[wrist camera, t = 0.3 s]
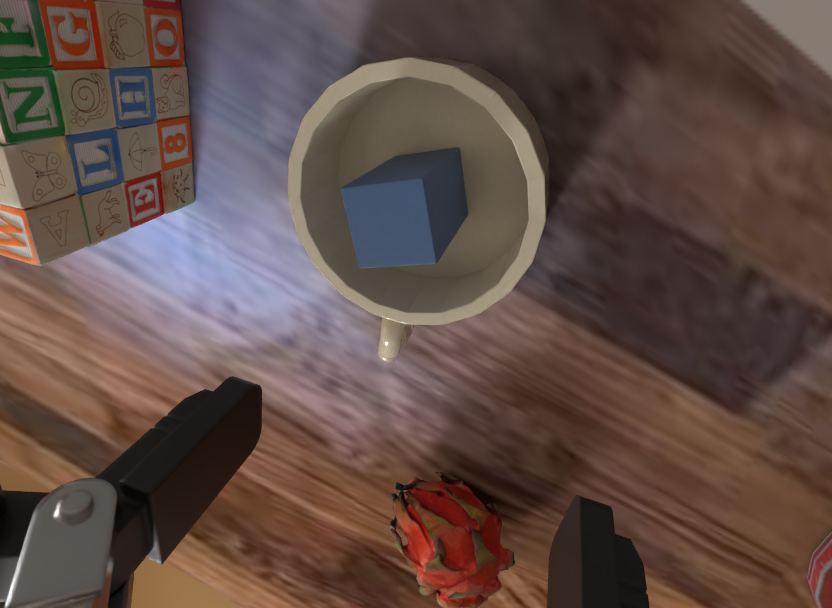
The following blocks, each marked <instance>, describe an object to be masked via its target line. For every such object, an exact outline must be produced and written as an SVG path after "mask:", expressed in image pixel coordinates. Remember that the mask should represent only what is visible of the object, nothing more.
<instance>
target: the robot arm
mask: <svg viewBox="0 0 832 608" xmlns="http://www.w3.org/2000/svg"><path fill="white" fill-rule="evenodd" d="M261 427H262V389H261V386H260V385H257V384H254V383H251V382H248V381H245V380H243V379H240V378H237V377H234V376H232V377H229V378H227V379H226V380H225V381H224V382H223V383H222V384H221V385H220V386H219V387H218V388H217V389H216V390H215V391H213V392H212V391H209V390H206V389H204V390H202V391H200V392H198V393H196V394H194V395H192V396H190V397H187V398H185V399H184V400H182V401H181V402H180V403H179V404H178V405H177V406H176V407H175V408H174V409H172V410H171V411H170V412H169V413H168V415H167V417H166V416H165V417H163V418H162V419H161V420H160V421H159V422H158V423H157V424H156V425H155V427H154V428H153V429H152V428H151V429H150V430H149V431H148V432H147V433H146V434H144V435H143V436H142V437H141V438H140V439H139V440H138V441H137V442H135V443H134V444H133V445H132V446H131V447H130V448H129V449H128V450H127V451H125V452H124V453H123V454H122V455H121V456H120V457H119V458H118V459H116V460H115V461H114V462H113V463H112V464H111V465H110V466H109V467H108V468H106V469H105V470H104V471H103V472H102V473H101V474H99V475H98V476H97V477H95V478H84V479H79V480H74V481H71V482H68V483H66V484H64V485H61V486H60V487H58V488H56V489H54V490H53V491H51V492H50V493H42V492H21V491H3V490H2V488H1V485H0V608H131V600H132V591H133V581H134V571H135V570H136V568H137V567H138V566H139V565H140V563H141V562H142V561H143V560H144V559H145V558H148V559H151V560H153V561H155V562H158V563H160V564H163V563H164V561H165V560H166V559H167V558H168V556H169V555H170V554H171V553H172V551H173V550H174V549H175V548H176V546H177V545H178V544H179V543H180V541H181V540H182V539H183V538H184V536H185V535H186V534H187V533H188V531H189V530H190V529H191V528H192V526H193V525H194V524H195V523H196V521H197V520H198V519H199V518H200V516H201V515H202V514H203V513H204V511H205V510H206V509H207V508H208V506H209V505H210V504H211V503H212V501H213V500H214V499H215V498H216V496H217V495H218V494H219V493H220V491H221V490H222V489H223V488H224V486H225V485H226V484H227V483H228V481H229V480H230V479H231V478H232V476H233V475H234V474H235V473H236V471H237V470H238V469H239V468H240V466H241V465H242V464H243V463H244V461H245V460H246V459H247V458H248V456H249V455H250V454H251V453H252V451H253V450H254V448H255V446H256V444H257V442H258V440H259V437H260V434H261ZM646 590H647V587H646V580H645V573H644V566H643V563H642V561H641V559H640V557H639V555H638V553H637V551H636V549H635V547H634V545H633V543H632V541H631V539H628V538H625V537H622V536H620V535H617V534H615V531H614V520H613V511H612V508H611V507H610V506H608V505H605V504H602V503H599V502H596V501H593V500H590V499H587V498H584V497H581V496H578V495H576V496H575V497H574V499H573V501H572V503H571V505H570V507H569V509H568V511H567V513H566V515H565V517H564V519H563V521H562V522H561V524H560V526H559V528H558V530H557V532H556V534H555V537H554V540H553V543H552V547H551V552H550V558H549V574H548V597H547V608H649V601H648V595H647V594H646Z"/></svg>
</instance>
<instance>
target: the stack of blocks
mask: <svg viewBox="0 0 832 608" xmlns="http://www.w3.org/2000/svg"><path fill="white" fill-rule="evenodd" d="M184 60H185V54H184V45H183V30H182V15H181V11H180V0H0V255H4V256H7V257H10V258H13V259H17V260H20V261H23V262H27V263H30V264H33V265H37V266H42V265H44V264H47V263H49V262H51V261H54V260H56V259H59V258H61V257H63V256H65V255H68V254H70V253H72V252H75V251H77V250H79V249H82V248H84V247H89V246H93V245H95V244H97V243H100V242H101V241H103V240H107V239H109V238H111V237H113V236H117V235H119V234H121V233H123V232H125V231H127V230H129V229H130V228H133V227H136V226H138V225H141V224H143V223H145V222H148V221H150V220H152V219H155V218H157V217H159V216H161V215H163V214H168V213H170V212H173V211H175V210H178V209H180V208H182V207H185V206H187V205H189V204H192V203H194V201H195V199H194V184H193V168H192V161H193V153H192V138H191V124H190V117H189V113H190V106H189V90H188V76H187V67H186V66H185V61H184Z"/></svg>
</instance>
